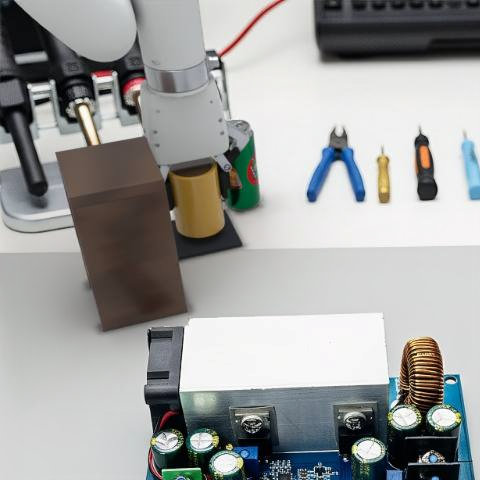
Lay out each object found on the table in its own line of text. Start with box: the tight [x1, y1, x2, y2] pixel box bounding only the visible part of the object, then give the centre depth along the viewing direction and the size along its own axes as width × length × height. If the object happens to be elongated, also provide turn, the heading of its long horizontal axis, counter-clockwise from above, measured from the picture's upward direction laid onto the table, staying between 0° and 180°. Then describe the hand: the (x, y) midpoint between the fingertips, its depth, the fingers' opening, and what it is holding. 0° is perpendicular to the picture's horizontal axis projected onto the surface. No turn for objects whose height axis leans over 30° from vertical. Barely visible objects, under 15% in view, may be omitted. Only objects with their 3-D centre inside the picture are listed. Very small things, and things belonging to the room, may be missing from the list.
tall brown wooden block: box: [54, 135, 188, 332], centre depth 120 cm, size 10×10×19 cm
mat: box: [171, 209, 243, 261], centre depth 136 cm, size 9×9×1 cm
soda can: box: [224, 118, 261, 211], centre depth 138 cm, size 5×5×12 cm
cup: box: [167, 157, 225, 238], centre depth 132 cm, size 7×7×9 cm
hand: (196, 198), depth 132 cm, fingers closed on cup, 6 cm apart
